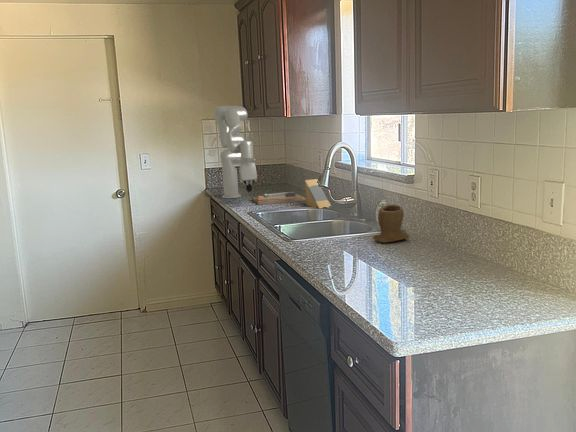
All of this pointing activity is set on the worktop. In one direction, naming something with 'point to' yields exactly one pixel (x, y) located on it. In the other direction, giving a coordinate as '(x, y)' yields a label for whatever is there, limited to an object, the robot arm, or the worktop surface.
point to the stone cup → (391, 224)
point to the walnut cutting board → (278, 199)
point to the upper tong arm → (279, 194)
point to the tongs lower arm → (279, 196)
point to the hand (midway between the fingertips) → (249, 191)
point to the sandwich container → (315, 195)
